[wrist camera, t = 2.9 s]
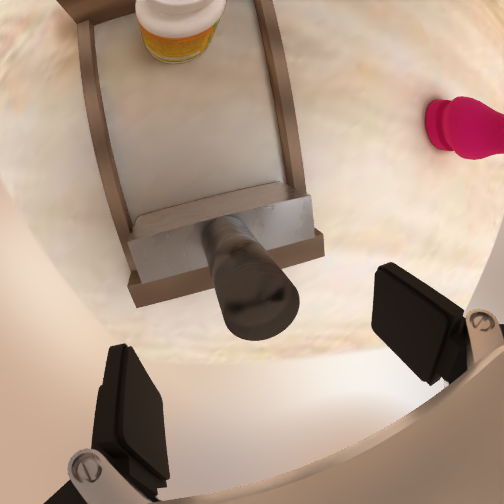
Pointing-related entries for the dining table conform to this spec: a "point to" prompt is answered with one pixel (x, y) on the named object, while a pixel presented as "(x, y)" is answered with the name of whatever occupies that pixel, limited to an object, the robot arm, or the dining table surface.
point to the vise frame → (86, 15)
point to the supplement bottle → (178, 27)
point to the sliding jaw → (231, 251)
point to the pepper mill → (465, 127)
